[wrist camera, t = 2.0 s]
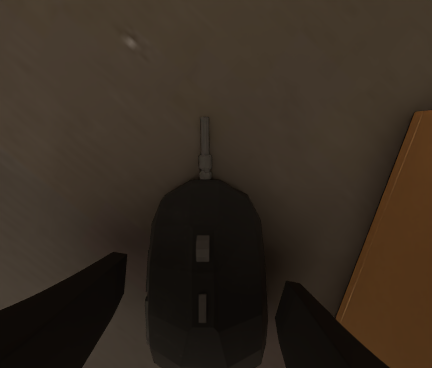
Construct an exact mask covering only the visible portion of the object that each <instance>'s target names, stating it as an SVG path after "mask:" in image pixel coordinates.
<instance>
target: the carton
mask: <svg viewBox="0 0 432 368" xmlns="http://www.w3.org/2000/svg"><path fill="white" fill-rule="evenodd" d="M335 319H336V320H337V321H338V322H339V323H340V324H341V325H342V326H343V327H344V328H345V329H347V330H348V331H349V332H350V333H351V334H352V335H353V336H354V337H355V338H356V339H357V340H358V341H360V342H361V343H362V344H363V345H364V346H365V347H366V348H367V349H368V350H370V351H371V352H372V353H373V354H374V355H375V356H376V357H378V358H379V359H380V360H381V361H383V362H384V363H385V364H386V365H387V366H389V367H390V368H432V110H430V111H417V112H415V113H414V116H413V118H412V121H411V123H410V126H409V129H408V131H407V134H406V136H405V139H404V142H403V144H402V147H401V149H400V152H399V155H398V157H397V160H396V162H395V165H394V168H393V170H392V173H391V175H390V178H389V181H388V183H387V186H386V188H385V191H384V194H383V196H382V199H381V201H380V204H379V207H378V209H377V212H376V214H375V217H374V220H373V222H372V225H371V227H370V230H369V233H368V235H367V238H366V240H365V243H364V246H363V248H362V251H361V253H360V256H359V259H358V261H357V264H356V266H355V269H354V272H353V274H352V277H351V279H350V282H349V285H348V287H347V290H346V292H345V295H344V298H343V300H342V303H341V305H340V308H339V311H338V313H337V316H336V318H335Z"/></svg>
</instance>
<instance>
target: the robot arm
mask: <svg viewBox="0 0 432 368" xmlns="http://www.w3.org/2000/svg"><path fill="white" fill-rule="evenodd" d="M126 263H127V254H123V253H117V252H113V253H111V254H109V255H107V256H105V257H104V258H102V259H100V260H99V261H97V262H95V263H94V264H92V265H90V266H88V267H87V268H85V269H83V270H81V271H80V272H78V273H76V274H74V275H73V276H71V277H69V278H67V279H65V280H63V281H61V282H59V283H57V284H56V285H54V286H52V287H50V288H48V289H46V290H44V291H42V292H40V293H38V294H36V295H34V296H32V297H29V298H27V299H25V300H23V301H21V302H18V303H16V304H14V305H12V306H9V307H7V308H5V309H2V310H0V368H82V367H83V365H84V363H85V362H86V360H87V358H88V357H89V355H90V354H91V352H92V350H93V349H94V347H95V345H96V344H97V342H98V340H99V339H100V337H101V336H102V334H103V332H104V331H105V329H106V327H107V326H108V324H109V322H110V321H111V319H112V317H113V315H114V313H115V311H116V309H117V307H118V305H119V303H120V300H121V298H122V296H123V294H124V286H125V275H126ZM275 320H276V327H277V333H278V339H279V344H280V347H281V351H282V355H283V358H284V362H285V365H286V368H390V367H389V366H387V365H386V364H385V363H384V362H383V361H381V360H380V359H379V358H378V357H376V356H375V355H374V354H373V353H372V352H371V351H370V350H368V349H367V348H366V347H365V346H364V345H363V344H362V343H361V342H360V341H358V340H357V339H356V338H355V337H354V336H353V335H352V334H351V333H350V332H349V331H348V330H347V329H345V328H344V327H343V326H342V325H341V324H340V323H339V322H338V321H337V320H336V319H335V318H334V317H333V316H332V315H331V314H330V313H329V312H328V311H327V310H326V309H325V308H324V307H323V306H322V305H321V304H320V303H319V302H318V301H317V300H316V299H315V298H314V297H313V296H312V295H311V294H310V293H309V292H308V291H307V290H306V289H305V288H304V287H303V286H302V285H301V284H300V283H295V282H290V281H286V283H285V286H284V290H283V293H282V296H281V300H280V303H279V306H278V310H277V313H276V316H275Z"/></svg>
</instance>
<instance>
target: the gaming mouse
mask: <svg viewBox="0 0 432 368" xmlns="http://www.w3.org/2000/svg"><path fill="white" fill-rule="evenodd" d="M200 120H201V155H199V169H201V172H199V174H200V179H201V180H191V181H189V182H187V183H185V184H184V185H182V186H180V187H178V188H177V189H175V190H173V191H171V192H170V193H168V194H166V195H165V196H164V197H163V199H162V200H161V202H160V205H159V207H158V209H157V212H156V214H155V217H154V219H153V221H152V225H151V236H150V247H149V250H148V261H147V280H146V292H148V293H147V297H146V299H145V314H146V340H147V344H150V350H151V353H152V357H153V360H154V363H156V364H157V365H159V366H160V367H162V368H255V367H257V366H259V365H260V364H261V362H262V358H263V353H264V349H265V345H266V336H267V324H268V315H267V293H266V273H265V256H264V248H263V239H262V230H261V221H260V218H259V216H258V214H257V212H256V210H255V208H254V206H253V204H252V203H251V201H250V199H249V197H248V195H247V194H245V193H243V192H240V191H238V190H236V189H234V188H232V187H230V186H229V185H227V184H225V183H224V182H222V181H220V180H210V179H211V178H212V172H210V169H211V168H212V155H209V117H201V118H200Z"/></svg>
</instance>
